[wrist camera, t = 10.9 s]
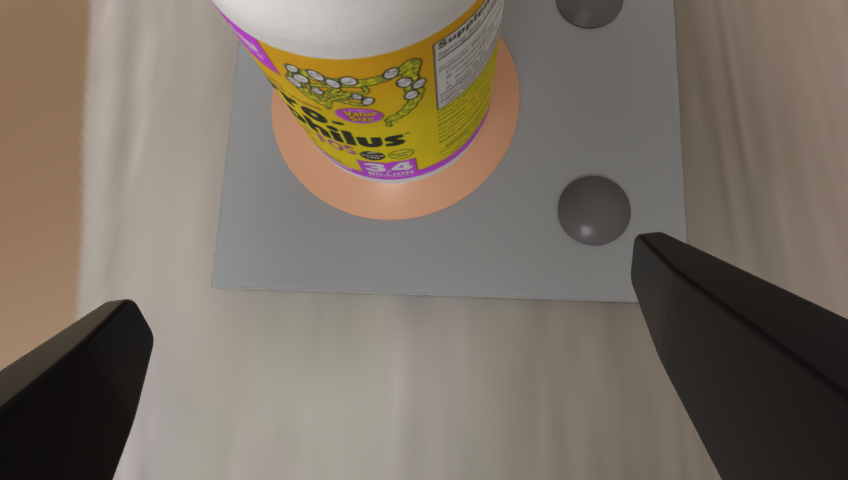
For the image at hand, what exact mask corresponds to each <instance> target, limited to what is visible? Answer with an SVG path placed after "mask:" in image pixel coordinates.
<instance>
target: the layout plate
mask: <svg viewBox="0 0 848 480" xmlns="http://www.w3.org/2000/svg"><path fill="white" fill-rule="evenodd" d="M651 232H663V233H665V234H667V235H669V236H671V237H674V238H676V239H678V240H680V241H682V242H684V243H686V244H687V234H686V216H685V197H684V179H683V161H682V143H681V125H680V107H679V89H678V71H677V52H676V34H675V16H674V0H504V7H503V14H502V22H501V30H500V37H499V45H498V52H497V60H496V67H495V75H494V82H493V89H492V96H491V101H490V106H489V110H488V114H487V117H486V119H485V122H484V125H483V127H482V129H481V131H480V133H479V134H478V136H477V138H476V139H475V141H474V142H473V144H472V145H471V147H470V148H469V149H468V150H467V151H466V152H465V154H464V155H463V156H462V157H460V158H459V159H458V160H457V161H456V162H454V163H453V164H452V165H450V166H449V167H448V168H446V169H444V170H443V171H441V172H439V173H437V174H435V175H433V176H430V177H428V178H425V179H422V180H418V181H414V182H409V183H400V184H385V183H377V182H372V181H368V180H364V179H361V178H358V177H356V176H353V175H351V174H349V173H347V172H345V171H343V170H342V169H340V168H339V167H337V166H336V165H335V164H333V163H332V162H331V161H330V160H329V159H327V158H326V157H325V156H324V155H323V153H322V152H321V151H320V150H319V149H318V147H317V146H316V145H315V144H314V143H313V141H312V140H311V139H310V137H309V136H308V135H307V133H306V132H305V131H304V129H303V128H302V126H301V125H300V124H299V122H298V121H297V119H296V118H295V116H294V115H293V113H292V112H291V111H290V109H289V108H288V107H287V105H286V104H285V102H284V101H283V100H282V98H281V96H280V95H279V94H278V92H277V91H276V90H275V88H274V87H273V86H272V84H271V83H270V81H269V80H268V78H267V77H266V76H265V74H264V73H263V71H262V70H261V69H260V67H259V66H258V64H257V63H256V61H255V60H254V59H253V57H252V56H251V54H250V53H249V52H248V50H247V49H246V47H245V46H244V45H243V43H242V42H241V40H240V42H239V51H238V60H237V68H236V77H235V86H234V94H233V103H232V112H231V120H230V129H229V137H228V146H227V155H226V163H225V172H224V181H223V189H222V198H221V206H220V215H219V224H218V232H217V241H216V250H215V258H214V267H213V276H212V284H211V287H214V288H219V289H247V290H276V291H306V292H335V293H365V294H394V295H424V296H453V297H483V298H512V299H542V300H572V301H601V302H631V303H639V302H638V299H637V297H636V294H635V291H634V288H633V285H632V282H631V264H632V254H633V245H634V240H635V237H636V236H637V235H638V234H643V233H651Z"/></svg>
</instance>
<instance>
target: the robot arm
mask: <svg viewBox="0 0 848 480" xmlns="http://www.w3.org/2000/svg"><path fill="white" fill-rule="evenodd" d="M631 282H632V285H633V288H634V291H635V294H636V297H637V299H638V302H639V305H640V307H641V310H642V313H643V316H644V318H645V321H646V324H647V326H648V329H649V332H650V335H651V337H652V340H653V343H654V345H655V348H656V350H657V353H658V355H659V358H660V360H661V362H662V364H663V366H664V368H665V370H666V372H667V374H668V376H669V378H670V380H671V382H672V384H673V386H674V388H675V390H676V392H677V394H678V396H679V398H680V400H681V401H682V403H683V405H684V407H685V409H686V411H687V413H688V415H689V417H690V419H691V421H692V423H693V425H694V427H695V429H696V431H697V432H698V434H699V436H700V438H701V440H702V442H703V444H704V446H705V448H706V450H707V452H708V454H709V456H710V458H711V460H712V462H713V464H714V465H715V467H716V469H717V471H718V473H719V475H720V477H721V479H722V480H848V319H846V318H844V317H842V316H840V315H838V314H835V313H833V312H831V311H829V310H827V309H825V308H823V307H820V306H818V305H816V304H814V303H812V302H810V301H808V300H806V299H803V298H801V297H799V296H797V295H795V294H793V293H791V292H789V291H786V290H784V289H782V288H780V287H778V286H776V285H774V284H772V283H769V282H767V281H765V280H763V279H761V278H759V277H757V276H755V275H752V274H750V273H748V272H746V271H744V270H742V269H740V268H737V267H735V266H733V265H731V264H729V263H727V262H725V261H723V260H720V259H718V258H716V257H714V256H712V255H710V254H708V253H706V252H703V251H701V250H699V249H697V248H695V247H693V246H691V245H689V244H686V243H684V242H682V241H680V240H678V239H676V238H674V237H671V236H669V235H667V234H665V233H663V232H651V233H643V234H638V235H637V236H636V237H635V240H634V245H633V254H632V264H631ZM152 348H153V334H152V331H151V329H150V327H149V326H148V324H147V322H146V320H145V318H144V317H143V315H142V313H141V311H140V309H139V308H138V306H137V304H136V303H135V302H134V301H132V300H129V299H124V300H116V301H109V302H106V303H104V304H103V305H101V306H100V307H98V308H97V309H95V310H94V311H92V312H90V313H89V314H87V315H86V316H84V317H83V318H81V319H80V320H78V321H77V322H75V323H73V324H72V325H70V326H69V327H67V328H66V329H64V330H63V331H61V332H60V333H58V334H56V335H55V336H54V337H52V338H50V339H49V340H47V341H46V342H44V343H43V344H41V345H39V346H38V347H36V348H35V349H33V350H32V351H30V352H29V353H27V354H26V355H24V356H23V357H21V358H19V359H18V360H16V361H15V362H13V363H12V364H10V365H9V366H7V367H6V368H4V369H3V370H1V371H0V480H113V477H114V474H115V472H116V469H117V466H118V464H119V461H120V458H121V455H122V453H123V450H124V447H125V445H126V442H127V439H128V436H129V434H130V431H131V428H132V425H133V422H134V419H135V415H136V412H137V408H138V404H139V400H140V396H141V392H142V388H143V384H144V380H145V376H146V372H147V368H148V364H149V360H150V356H151V352H152Z"/></svg>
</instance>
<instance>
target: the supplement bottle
mask: <svg viewBox="0 0 848 480" xmlns="http://www.w3.org/2000/svg"><path fill="white" fill-rule="evenodd" d="M211 1H212V2H213V3H214V5H215V6H216V7H217V9H218V10H219V11H220V13H221V14H222V15H223V17H224V18H225V19H226V21H227V22H228V23H229V25H230V26H231V28H232V29H233V31H234V32H235V33H236V35H237V36H238V38H239V39H240V40H241V42H242V43H243V45H244V46H245V47H246V49H247V50H248V52H249V53H250V54H251V56H252V57H253V59H254V60H255V61H256V63H257V64H258V66H259V67H260V69H261V70H262V71H263V73H264V74H265V76H266V77H267V78H268V80H269V81H270V83H271V84H272V86H273V87H274V88H275V90H276V91H277V92H278V94H279V95H280V96H281V98H282V100H283V101H284V102H285V104H286V105H287V107H288V108H289V109H290V111H291V112H292V113H293V115H294V116H295V118H296V119H297V121H298V122H299V124H300V125H301V126H302V128H303V129H304V131H305V132H306V133H307V135H308V136H309V137H310V139H311V140H312V141H313V143H314V144H315V145H316V146H317V147H318V149H319V150H320V151H321V152H322V153H323V155H324V156H325V157H326V158H327V159H329V160H330V161H331V162H332V163H333V164H335V165H336V166H337V167H339V168H340V169H342V170H343V171H345V172H347V173H349V174H351V175H353V176H356V177H358V178H361V179H364V180H368V181H372V182H377V183H385V184H400V183H409V182H414V181H418V180H422V179H425V178H428V177H430V176H433V175H435V174H437V173H439V172H441V171H443V170H444V169H446V168H448V167H449V166H450V165H452V164H453V163H454V162H456V161H457V160H458V159H459V158H460V157H462V156H463V155H464V154H465V152H466V151H467V150H468V149H469V148H470V147H471V145H472V144H473V142H474V141H475V139H476V138H477V136H478V134H479V133H480V131H481V129H482V127H483V125H484V122H485V119H486V117H487V114H488V110H489V106H490V101H491V96H492V89H493V82H494V75H495V67H496V60H497V52H498V45H499V37H500V30H501V22H502V14H503V7H504V0H211Z"/></svg>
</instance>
